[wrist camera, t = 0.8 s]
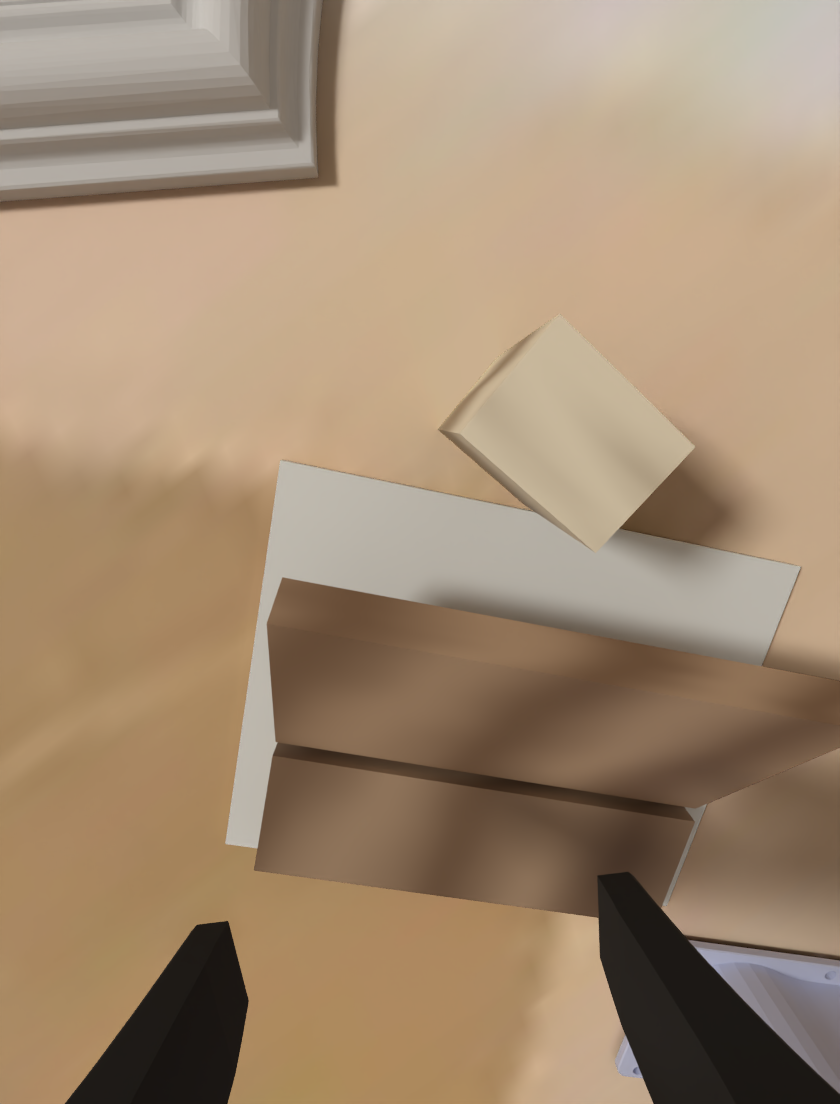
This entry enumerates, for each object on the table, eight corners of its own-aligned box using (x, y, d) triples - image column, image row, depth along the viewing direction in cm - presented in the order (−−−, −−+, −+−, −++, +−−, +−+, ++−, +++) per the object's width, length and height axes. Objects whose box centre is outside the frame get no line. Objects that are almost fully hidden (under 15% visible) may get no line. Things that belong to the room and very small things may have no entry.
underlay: (794, 564, 19) (801, 567, 19) (663, 899, 22) (666, 906, 22) (282, 459, 17) (280, 460, 17) (227, 837, 21) (225, 844, 21)
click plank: (851, 682, 14) (876, 731, 13) (686, 770, 20) (695, 808, 19) (282, 577, 13) (266, 623, 12) (285, 704, 19) (275, 742, 18)
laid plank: (674, 794, 21) (695, 821, 19) (637, 892, 22) (654, 925, 20) (281, 731, 19) (272, 755, 18) (264, 838, 21) (253, 870, 19)
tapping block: (437, 429, 17) (496, 357, 17) (523, 503, 18) (582, 437, 18) (459, 433, 11) (559, 314, 10) (595, 552, 11) (695, 447, 11)
